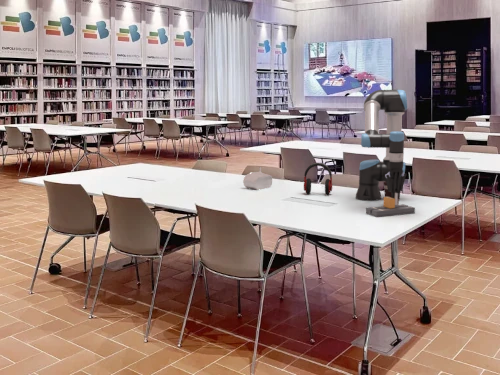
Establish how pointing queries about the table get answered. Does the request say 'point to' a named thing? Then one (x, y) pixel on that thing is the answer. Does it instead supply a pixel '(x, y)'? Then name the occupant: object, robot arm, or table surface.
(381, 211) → the slider console
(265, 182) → the vr headset
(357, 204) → the table surface
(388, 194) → the coffee cup
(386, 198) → the fader tab
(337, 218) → the table surface
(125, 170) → the table surface
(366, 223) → the table surface
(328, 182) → the headphones
